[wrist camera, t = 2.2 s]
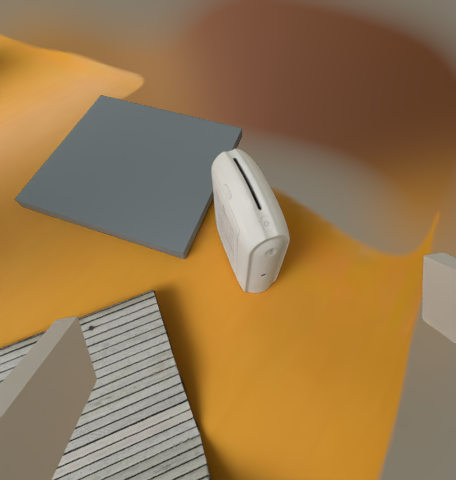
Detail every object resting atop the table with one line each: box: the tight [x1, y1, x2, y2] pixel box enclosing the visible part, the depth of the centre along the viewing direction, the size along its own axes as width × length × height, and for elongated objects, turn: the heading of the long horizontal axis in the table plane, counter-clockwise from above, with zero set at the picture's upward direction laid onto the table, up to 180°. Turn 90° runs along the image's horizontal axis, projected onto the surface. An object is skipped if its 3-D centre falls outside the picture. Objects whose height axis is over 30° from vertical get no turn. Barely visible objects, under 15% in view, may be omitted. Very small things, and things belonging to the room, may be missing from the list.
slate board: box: [15, 95, 242, 259], centre depth 40 cm, size 22×20×2 cm
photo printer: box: [211, 149, 290, 293], centre depth 30 cm, size 10×4×12 cm, turn 20°
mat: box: [0, 290, 211, 480], centre depth 24 cm, size 23×24×5 cm
